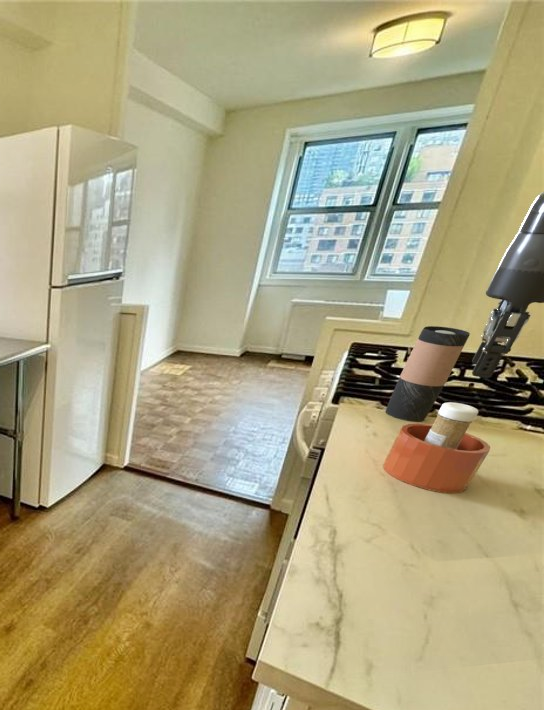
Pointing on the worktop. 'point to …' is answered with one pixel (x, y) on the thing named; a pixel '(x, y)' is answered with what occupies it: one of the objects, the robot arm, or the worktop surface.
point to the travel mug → (426, 372)
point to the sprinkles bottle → (451, 425)
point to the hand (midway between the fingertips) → (480, 370)
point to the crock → (434, 460)
